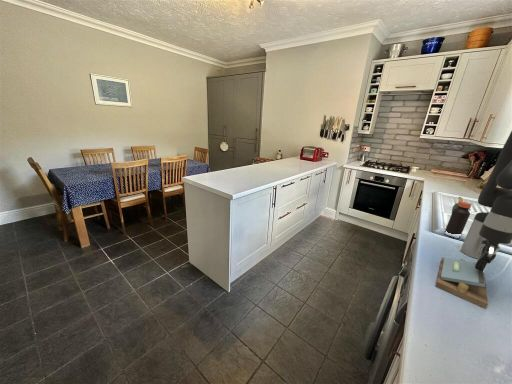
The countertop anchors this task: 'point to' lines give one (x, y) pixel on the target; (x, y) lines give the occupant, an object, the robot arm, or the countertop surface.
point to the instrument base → (471, 292)
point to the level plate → (462, 272)
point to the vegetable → (457, 204)
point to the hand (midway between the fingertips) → (478, 268)
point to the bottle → (458, 218)
